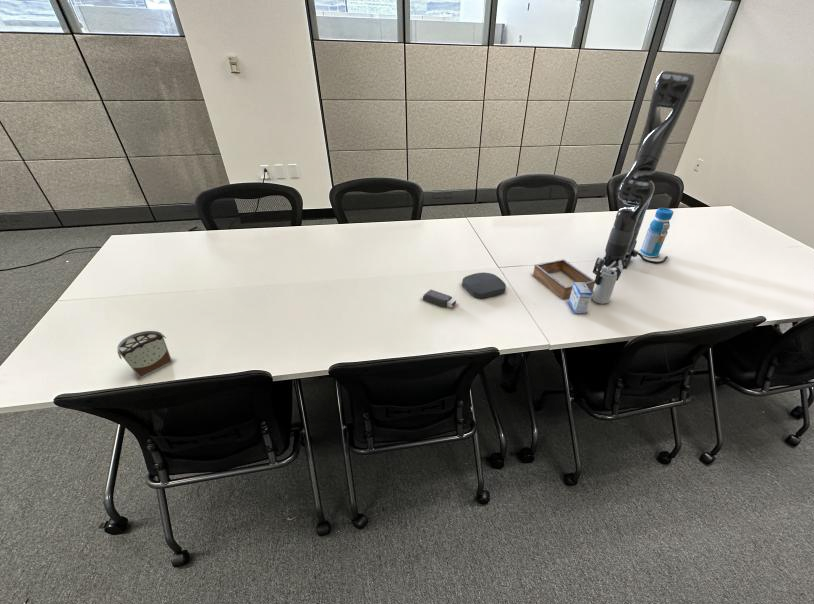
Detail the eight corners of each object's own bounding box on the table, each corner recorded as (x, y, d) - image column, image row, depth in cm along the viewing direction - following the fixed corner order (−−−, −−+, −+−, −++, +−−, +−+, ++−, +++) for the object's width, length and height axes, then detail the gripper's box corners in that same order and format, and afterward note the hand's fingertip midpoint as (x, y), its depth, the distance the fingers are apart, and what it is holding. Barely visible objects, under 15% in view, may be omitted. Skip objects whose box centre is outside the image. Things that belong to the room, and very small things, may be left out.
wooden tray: (561, 269, 179) (563, 258, 175) (592, 292, 165) (595, 281, 162) (532, 275, 174) (534, 264, 171) (562, 299, 160) (565, 288, 157)
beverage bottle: (638, 255, 192) (655, 211, 178) (639, 248, 197) (655, 205, 184) (658, 259, 189) (675, 215, 176) (658, 252, 195) (675, 208, 182)
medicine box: (568, 302, 158) (573, 282, 153) (579, 302, 159) (585, 281, 153) (574, 313, 153) (580, 292, 147) (586, 313, 153) (592, 292, 147)
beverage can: (609, 305, 158) (619, 277, 149) (592, 303, 158) (601, 274, 150) (608, 297, 162) (617, 269, 154) (591, 295, 163) (599, 267, 155)
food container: (166, 351, 128) (151, 324, 121) (177, 359, 125) (163, 332, 119) (124, 372, 120) (106, 344, 113) (135, 381, 118) (117, 353, 111)
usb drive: (430, 294, 159) (430, 287, 157) (457, 303, 155) (457, 296, 153) (422, 299, 156) (422, 293, 154) (450, 309, 152) (450, 303, 150)
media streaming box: (476, 300, 157) (477, 293, 155) (458, 283, 166) (458, 276, 164) (509, 292, 162) (510, 285, 160) (489, 276, 172) (490, 269, 170)
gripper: (611, 247, 139) (597, 290, 150) (642, 241, 144) (627, 283, 155) (596, 239, 144) (584, 280, 155) (627, 233, 149) (614, 274, 160)
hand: (606, 281), depth 155 cm, fingers open, 8 cm apart
